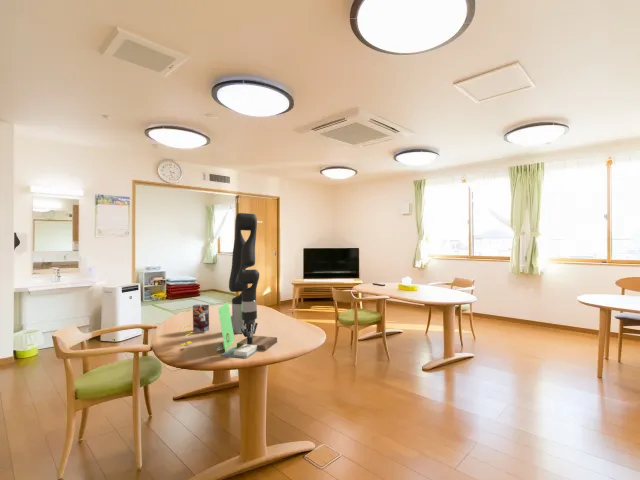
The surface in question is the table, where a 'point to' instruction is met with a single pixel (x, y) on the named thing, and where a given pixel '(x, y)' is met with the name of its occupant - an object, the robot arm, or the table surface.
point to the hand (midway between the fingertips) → (249, 344)
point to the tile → (245, 350)
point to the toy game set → (225, 325)
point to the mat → (231, 353)
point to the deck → (260, 342)
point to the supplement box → (197, 324)
